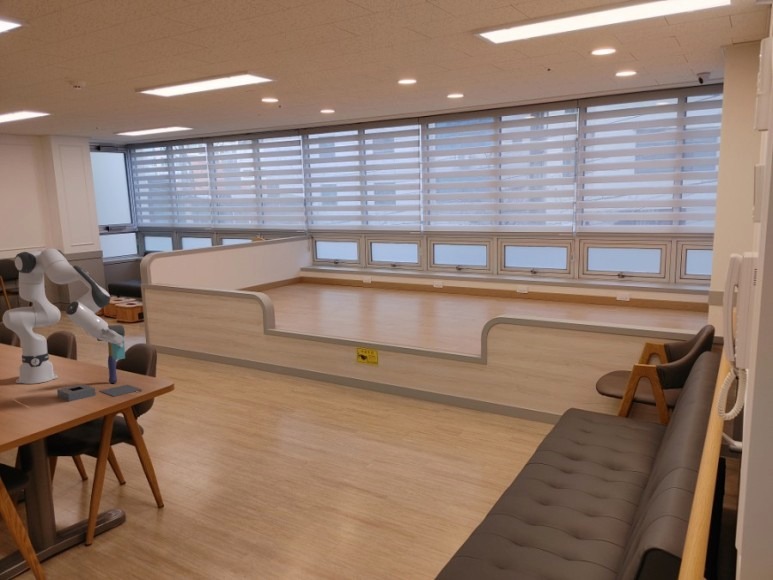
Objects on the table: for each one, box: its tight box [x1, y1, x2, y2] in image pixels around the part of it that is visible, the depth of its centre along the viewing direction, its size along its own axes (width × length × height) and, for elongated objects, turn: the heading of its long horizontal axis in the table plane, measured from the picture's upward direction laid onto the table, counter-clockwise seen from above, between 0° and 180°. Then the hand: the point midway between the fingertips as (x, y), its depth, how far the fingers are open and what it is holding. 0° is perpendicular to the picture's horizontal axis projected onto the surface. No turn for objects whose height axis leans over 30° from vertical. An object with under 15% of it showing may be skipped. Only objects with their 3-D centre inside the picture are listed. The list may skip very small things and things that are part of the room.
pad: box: [99, 384, 143, 398], centre depth 280 cm, size 14×14×1 cm
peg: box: [112, 335, 126, 361], centre depth 277 cm, size 4×4×11 cm
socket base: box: [56, 383, 96, 402], centre depth 271 cm, size 12×12×4 cm
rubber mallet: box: [96, 324, 125, 384], centre depth 293 cm, size 12×8×30 cm, turn 131°
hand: (119, 345), depth 278 cm, fingers closed on peg, 4 cm apart
